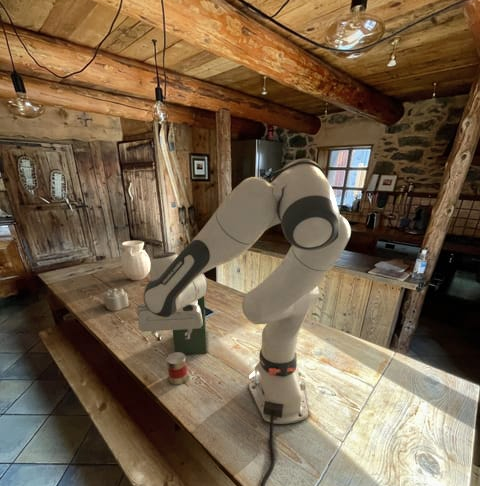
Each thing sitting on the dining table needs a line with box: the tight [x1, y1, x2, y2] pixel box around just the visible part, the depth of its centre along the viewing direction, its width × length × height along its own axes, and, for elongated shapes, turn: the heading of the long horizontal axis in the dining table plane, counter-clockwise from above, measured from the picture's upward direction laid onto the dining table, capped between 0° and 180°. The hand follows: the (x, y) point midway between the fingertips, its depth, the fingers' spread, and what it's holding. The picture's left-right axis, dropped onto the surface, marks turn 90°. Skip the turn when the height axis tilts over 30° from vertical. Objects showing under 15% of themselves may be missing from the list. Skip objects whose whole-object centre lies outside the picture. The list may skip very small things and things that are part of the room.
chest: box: [172, 309, 207, 356], centre depth 113 cm, size 16×13×12 cm
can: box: [166, 351, 188, 385], centre depth 94 cm, size 6×6×9 cm
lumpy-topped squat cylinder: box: [103, 288, 130, 312], centre depth 146 cm, size 10×13×9 cm
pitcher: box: [120, 240, 151, 281], centre depth 180 cm, size 19×18×25 cm
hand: (173, 339), depth 89 cm, fingers open, 8 cm apart
